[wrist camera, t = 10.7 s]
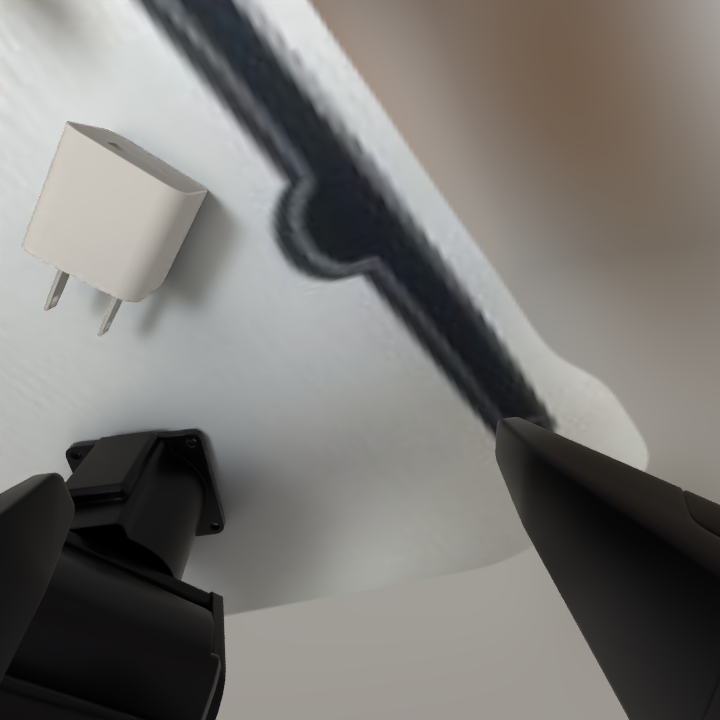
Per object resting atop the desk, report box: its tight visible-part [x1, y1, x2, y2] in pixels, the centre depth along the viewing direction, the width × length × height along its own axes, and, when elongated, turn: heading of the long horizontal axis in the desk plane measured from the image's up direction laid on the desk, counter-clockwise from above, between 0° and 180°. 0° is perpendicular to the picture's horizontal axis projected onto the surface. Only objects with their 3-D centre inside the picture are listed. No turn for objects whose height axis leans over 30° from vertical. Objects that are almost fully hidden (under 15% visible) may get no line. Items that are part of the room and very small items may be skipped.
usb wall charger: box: [22, 121, 208, 336], centre depth 16 cm, size 4×7×4 cm, turn 147°
